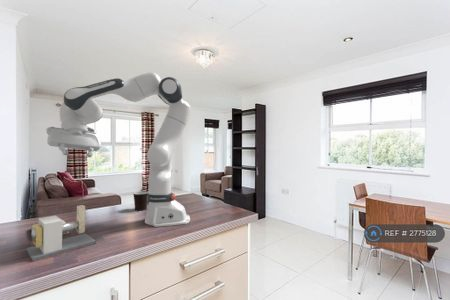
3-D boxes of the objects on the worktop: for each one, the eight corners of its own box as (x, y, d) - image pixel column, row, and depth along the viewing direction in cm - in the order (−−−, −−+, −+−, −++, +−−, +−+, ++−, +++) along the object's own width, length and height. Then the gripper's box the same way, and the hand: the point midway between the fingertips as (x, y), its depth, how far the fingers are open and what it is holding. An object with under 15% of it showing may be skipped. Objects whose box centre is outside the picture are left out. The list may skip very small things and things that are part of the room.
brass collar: (37, 241, 78) (38, 223, 78) (41, 246, 74) (42, 227, 74) (32, 242, 77) (32, 224, 77) (35, 247, 73) (36, 228, 73)
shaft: (82, 230, 87) (82, 204, 87) (84, 232, 85) (85, 206, 85) (31, 242, 75) (31, 213, 75) (33, 244, 73) (33, 214, 73)
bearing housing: (85, 235, 92) (86, 209, 92) (95, 243, 84) (96, 214, 84) (26, 250, 78) (26, 219, 78) (32, 261, 70) (32, 227, 70)
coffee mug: (135, 207, 137) (135, 191, 137) (149, 207, 137) (150, 191, 137) (129, 212, 125) (129, 195, 125) (144, 212, 126) (144, 195, 126)
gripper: (49, 121, 91) (52, 148, 86) (99, 131, 108) (105, 153, 102) (43, 130, 94) (46, 157, 88) (93, 138, 111) (98, 161, 105)
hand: (78, 155), depth 95 cm, fingers open, 8 cm apart
